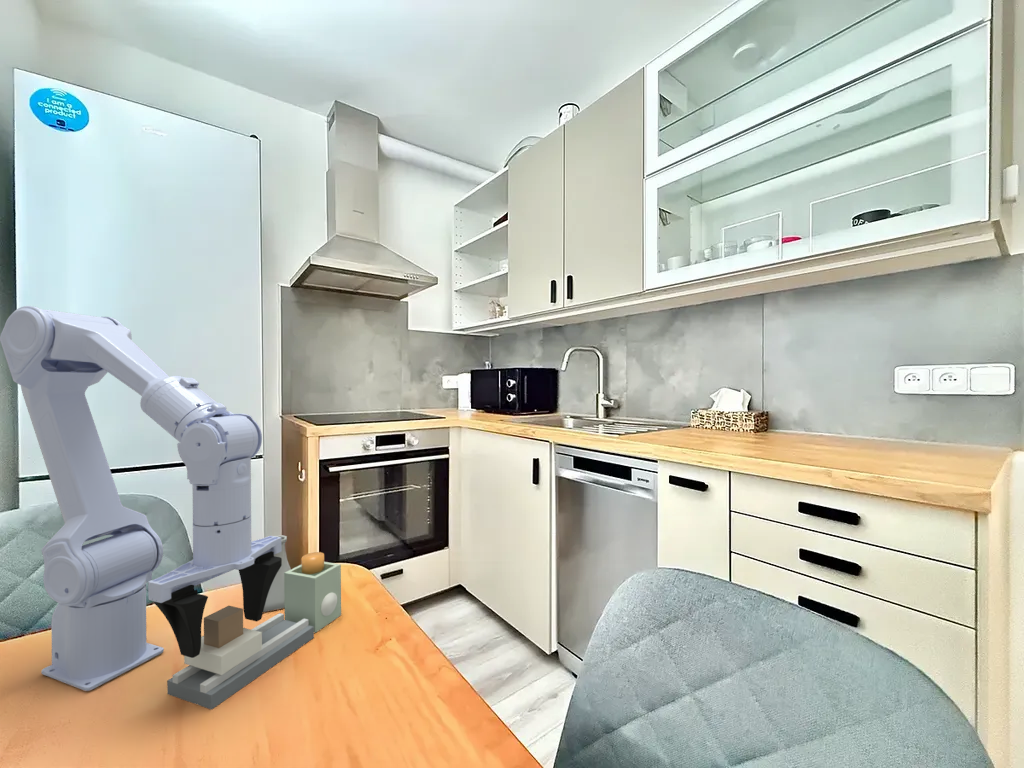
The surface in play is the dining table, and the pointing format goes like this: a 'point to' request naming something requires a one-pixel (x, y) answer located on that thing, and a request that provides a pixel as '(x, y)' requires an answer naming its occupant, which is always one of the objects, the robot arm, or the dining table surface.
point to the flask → (278, 582)
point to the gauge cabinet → (313, 595)
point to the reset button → (313, 563)
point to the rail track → (241, 664)
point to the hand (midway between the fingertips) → (223, 635)
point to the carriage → (225, 642)
